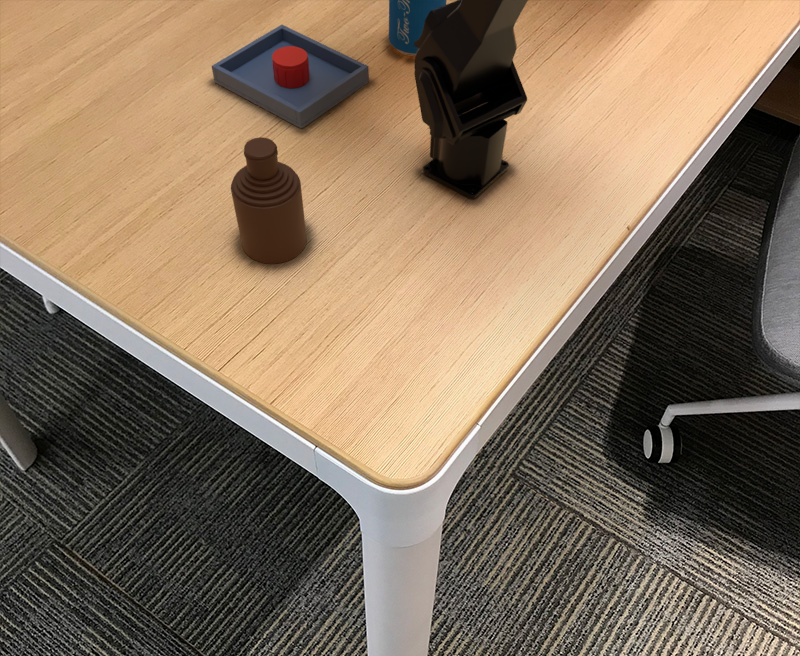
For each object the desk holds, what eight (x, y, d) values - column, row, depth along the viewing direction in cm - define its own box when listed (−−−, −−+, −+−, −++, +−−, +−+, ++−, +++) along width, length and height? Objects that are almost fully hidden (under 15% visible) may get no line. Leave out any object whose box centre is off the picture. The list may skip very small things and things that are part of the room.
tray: (369, 82, 86) (368, 65, 85) (301, 129, 81) (299, 112, 80) (283, 40, 91) (281, 24, 89) (214, 82, 86) (211, 65, 84)
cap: (316, 75, 86) (314, 52, 84) (297, 92, 84) (294, 69, 82) (287, 65, 87) (284, 42, 85) (268, 82, 85) (265, 59, 83)
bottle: (319, 237, 72) (311, 143, 63) (275, 273, 69) (260, 180, 61) (273, 210, 74) (259, 115, 65) (228, 244, 71) (207, 149, 63)
